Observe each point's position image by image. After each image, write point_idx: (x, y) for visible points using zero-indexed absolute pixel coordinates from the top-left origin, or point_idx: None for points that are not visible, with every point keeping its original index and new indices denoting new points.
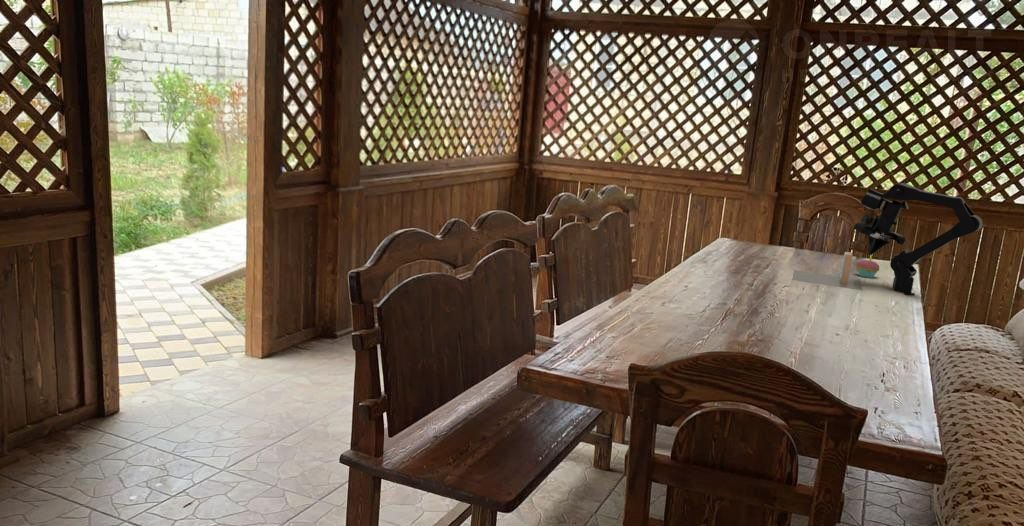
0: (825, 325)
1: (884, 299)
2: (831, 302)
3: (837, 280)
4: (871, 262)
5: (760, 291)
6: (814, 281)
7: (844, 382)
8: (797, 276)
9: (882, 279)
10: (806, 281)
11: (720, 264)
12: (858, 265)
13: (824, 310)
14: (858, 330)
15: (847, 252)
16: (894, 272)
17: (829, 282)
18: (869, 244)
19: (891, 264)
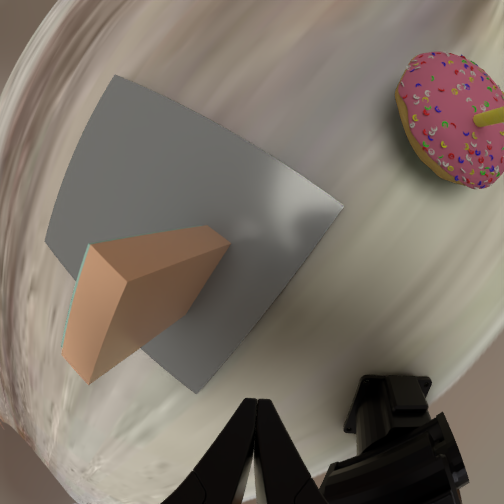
0: (65, 455)
1: None
2: (82, 415)
3: None
4: (480, 138)
5: (7, 318)
6: None
7: (69, 491)
8: (68, 190)
9: None
10: (65, 263)
11: (21, 84)
12: (401, 98)
13: (68, 431)
14: (92, 480)
15: (89, 284)
16: (326, 475)
17: None
18: (190, 484)
19: (329, 487)
